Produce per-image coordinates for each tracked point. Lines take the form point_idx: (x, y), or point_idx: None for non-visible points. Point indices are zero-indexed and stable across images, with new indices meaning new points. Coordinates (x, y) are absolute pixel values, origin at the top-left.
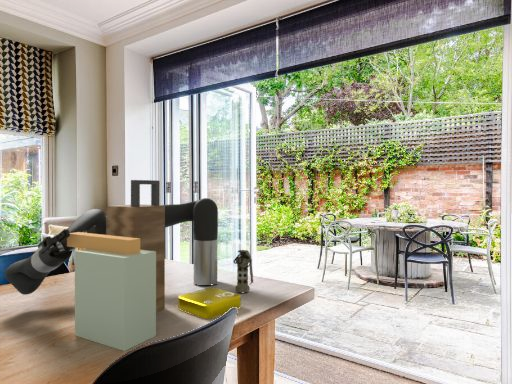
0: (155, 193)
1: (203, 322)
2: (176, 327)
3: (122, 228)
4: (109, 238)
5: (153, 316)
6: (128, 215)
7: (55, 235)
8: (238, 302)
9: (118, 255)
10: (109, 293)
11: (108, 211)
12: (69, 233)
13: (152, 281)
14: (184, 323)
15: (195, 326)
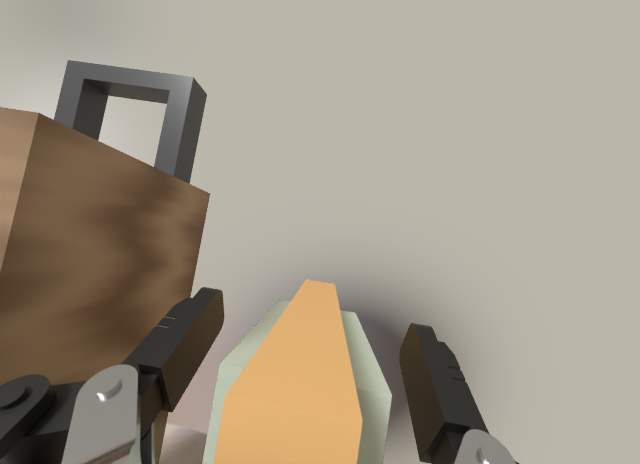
0: (97, 126)
1: (170, 425)
2: (199, 457)
3: (151, 277)
4: (336, 295)
5: None
6: (185, 218)
7: (494, 441)
8: None
9: (346, 319)
10: None
11: (63, 170)
12: (402, 344)
13: None
14: (174, 452)
15: (192, 430)
